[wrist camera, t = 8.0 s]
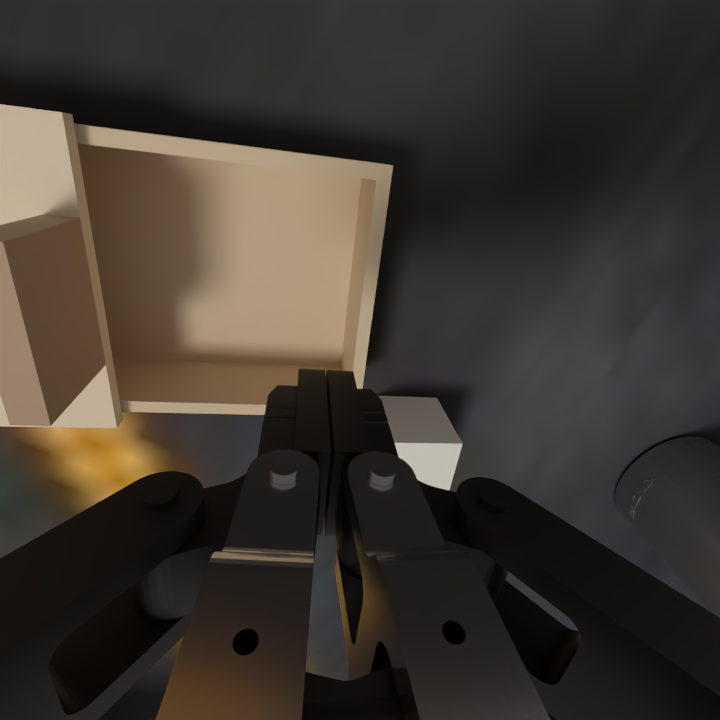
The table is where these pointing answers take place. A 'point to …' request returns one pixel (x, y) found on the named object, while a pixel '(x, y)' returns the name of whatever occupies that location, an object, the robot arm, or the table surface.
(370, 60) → the table surface
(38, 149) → the lid
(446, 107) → the table surface
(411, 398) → the block
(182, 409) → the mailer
